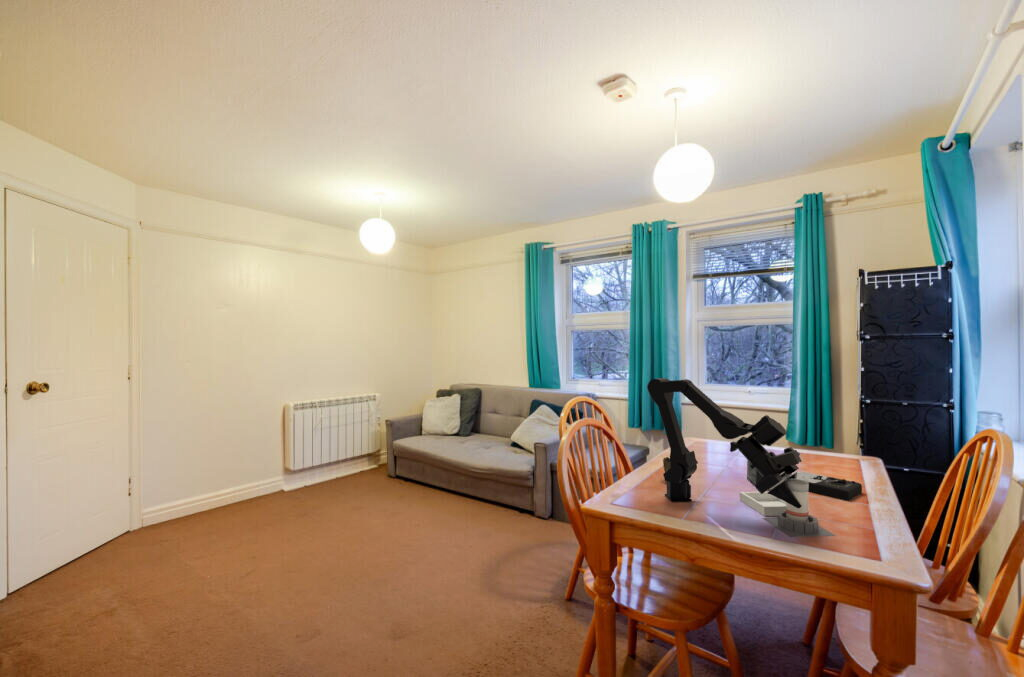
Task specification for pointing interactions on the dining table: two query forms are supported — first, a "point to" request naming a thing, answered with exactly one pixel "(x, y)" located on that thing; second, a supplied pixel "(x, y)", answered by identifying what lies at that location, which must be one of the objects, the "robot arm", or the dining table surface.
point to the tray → (763, 503)
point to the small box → (753, 474)
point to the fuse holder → (798, 526)
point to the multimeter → (831, 486)
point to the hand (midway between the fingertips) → (803, 504)
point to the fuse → (801, 493)
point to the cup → (666, 464)
